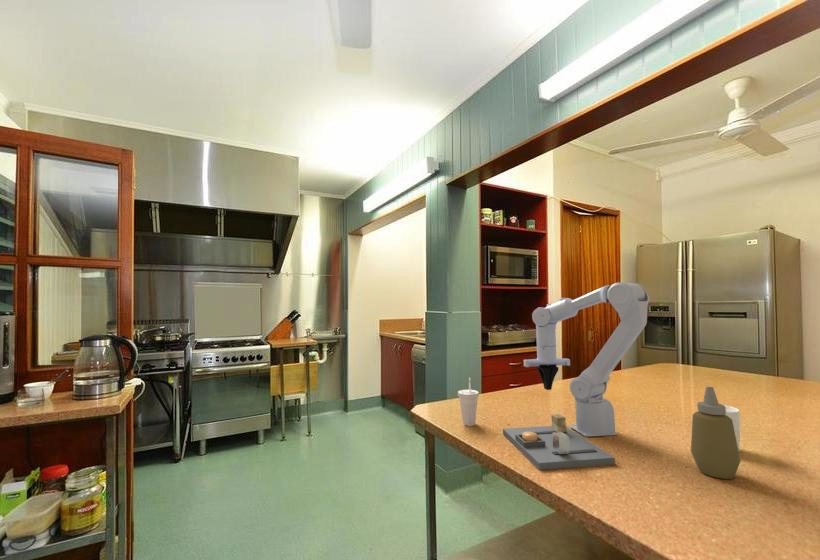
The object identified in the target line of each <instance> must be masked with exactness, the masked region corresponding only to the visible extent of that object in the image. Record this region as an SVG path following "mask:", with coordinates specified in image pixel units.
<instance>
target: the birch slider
mask: <svg viewBox="0 0 820 560" xmlns="http://www.w3.org/2000/svg"><path fill="white" fill-rule="evenodd" d="M551 426H552V429H553V430H555V431H556V432H566V427H567V423H566V417H565V416H564V415H562V414H560V413H556V414H555V413H554V414H551Z"/></svg>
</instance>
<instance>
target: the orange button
mask: <svg viewBox="0 0 820 560" xmlns="http://www.w3.org/2000/svg"><path fill="white" fill-rule="evenodd" d="M522 439H523V440H524V441H525V442H528V441H537V434H536V433H534V432H523V433H522Z"/></svg>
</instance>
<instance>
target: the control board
mask: <svg viewBox="0 0 820 560" xmlns="http://www.w3.org/2000/svg"><path fill="white" fill-rule="evenodd" d="M523 432H534V433H536V434H537V441H528V442H525V441H524V440H523V439H522V433H523ZM555 432H556V431H555V430H553V429H552V425H545V426H543V425H542V426H529V427H528V426H526V427H512V428H511V427H510V428H509V427H508V428H502V435H503V436H504V437H505V438H506V439H507V440H508V441H509V442H511V444H512V445H513V446H514V447H515V448H516V449H517V450H520V451H519V452H521V453H522V455H524V457H525V458H526V459H528V460H529V462H530V463H531V464H533V466H534V467H536V468H537V470H538V471H543V470H546V471H547V470H556V469H557V470H558V469H559V470H560V469H570V468H572V469H573V468H585V467H586V468H587V467H598V466H612V465H613V466H614V465H616V458H615V457H614V456H613V455H612V454H610V453H608V452H606V451H605V450H603V449H602V448H600V447H599V446H597V445H595V444H593V442H591V441H589V440H588V439H586V438H584V436H583V437H582V436H581V434H580V435H579V434H578V433H576V432H575V431H573V429H570V428H568V427H567V426H566V432H563V433H564V434H566V435H567V436H569V452H570V454H559V453H558V452H556V451H555V450H554V449H553V434H552V433H555Z"/></svg>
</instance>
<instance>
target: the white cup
mask: <svg viewBox="0 0 820 560" xmlns="http://www.w3.org/2000/svg"><path fill="white" fill-rule="evenodd" d="M723 405H724V406H725V408H726V414H725V415H727V416H728V417H730V418H731V419H732V421H733V426H734V431H735V436H736V441H737V446H738V451H739V452H740V451H741V450H740V442H741V420H740V419H741V418H740V415H741V410H740V409H739V408H737V407H734V406H730V405H726V404H723Z"/></svg>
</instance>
